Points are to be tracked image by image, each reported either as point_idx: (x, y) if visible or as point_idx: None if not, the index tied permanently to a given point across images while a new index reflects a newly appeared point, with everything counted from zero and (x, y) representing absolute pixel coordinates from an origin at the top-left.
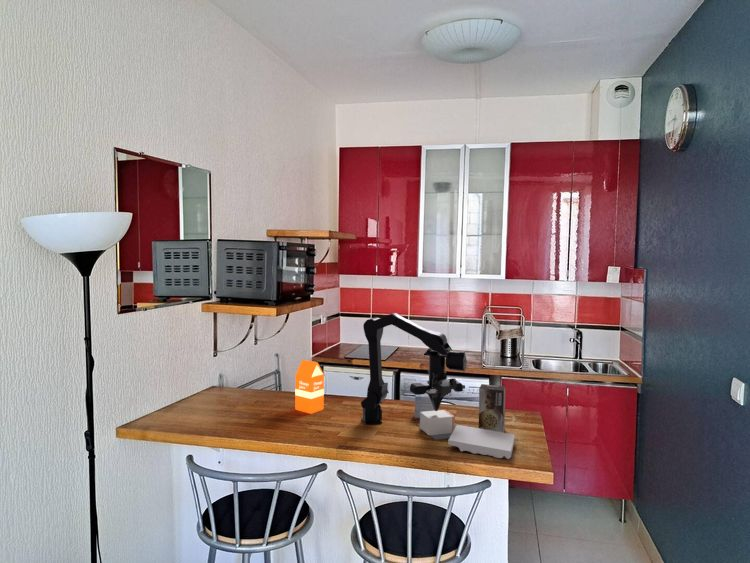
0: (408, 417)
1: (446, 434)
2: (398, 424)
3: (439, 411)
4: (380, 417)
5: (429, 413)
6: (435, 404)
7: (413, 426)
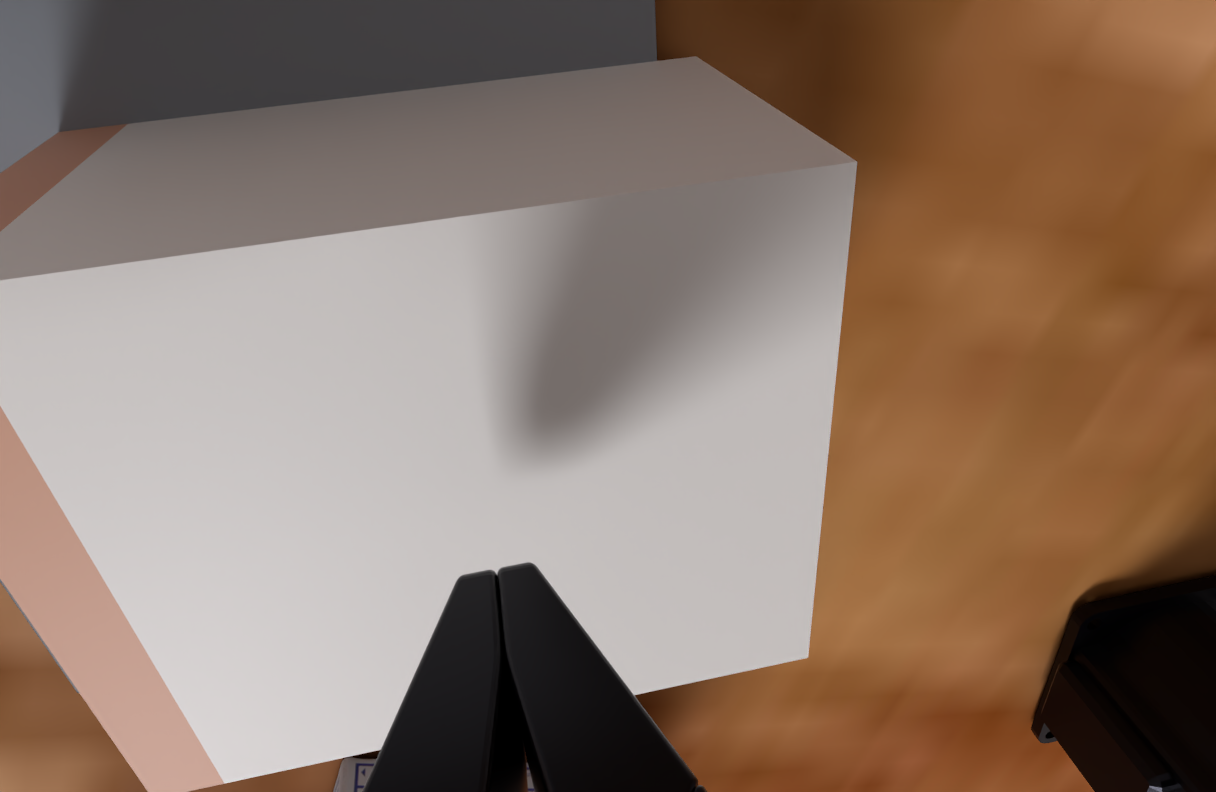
0: None
1: (279, 49)
2: (905, 582)
3: (332, 694)
4: (1109, 684)
5: (645, 573)
6: (610, 734)
7: None
